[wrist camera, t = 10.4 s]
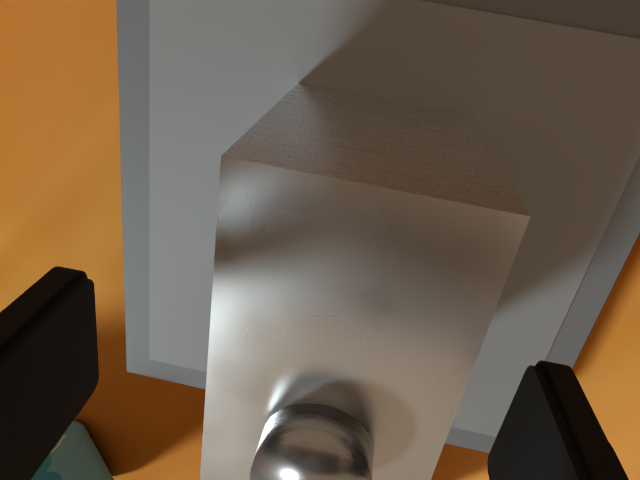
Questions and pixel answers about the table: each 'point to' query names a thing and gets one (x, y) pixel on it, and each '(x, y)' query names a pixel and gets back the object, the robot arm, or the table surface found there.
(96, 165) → the table surface
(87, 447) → the data package
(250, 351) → the block
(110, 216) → the table surface
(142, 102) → the grey square tray
